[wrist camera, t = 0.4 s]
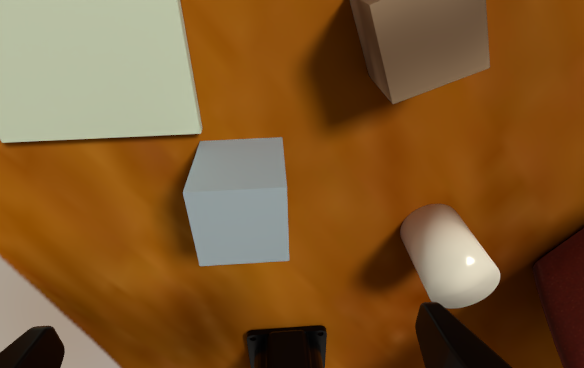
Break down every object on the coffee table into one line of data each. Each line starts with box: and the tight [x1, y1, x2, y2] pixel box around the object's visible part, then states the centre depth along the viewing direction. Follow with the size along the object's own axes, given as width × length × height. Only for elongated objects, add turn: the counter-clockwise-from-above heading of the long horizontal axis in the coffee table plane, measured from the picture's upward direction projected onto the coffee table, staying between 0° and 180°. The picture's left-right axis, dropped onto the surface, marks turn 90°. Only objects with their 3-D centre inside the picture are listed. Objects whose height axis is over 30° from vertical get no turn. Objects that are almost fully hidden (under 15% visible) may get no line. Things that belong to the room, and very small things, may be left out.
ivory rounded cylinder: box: [400, 204, 500, 308], centre depth 22 cm, size 4×4×5 cm
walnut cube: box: [350, 0, 490, 104], centre depth 15 cm, size 4×4×4 cm
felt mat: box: [0, 0, 202, 143], centre depth 15 cm, size 12×10×1 cm
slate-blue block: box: [183, 137, 289, 266], centre depth 19 cm, size 4×4×5 cm
